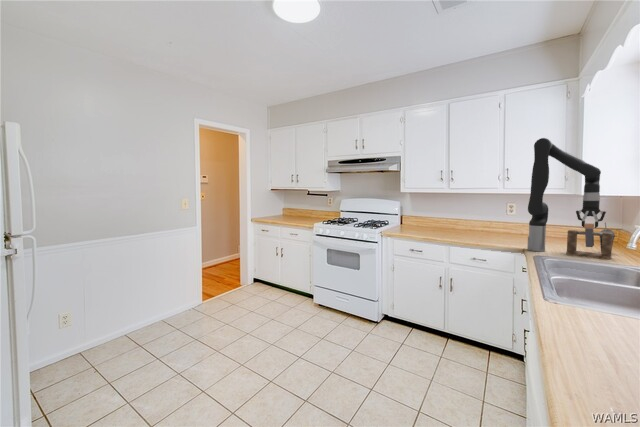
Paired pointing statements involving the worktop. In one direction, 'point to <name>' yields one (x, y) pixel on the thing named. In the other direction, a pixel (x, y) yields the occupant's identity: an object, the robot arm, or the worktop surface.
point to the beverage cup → (607, 232)
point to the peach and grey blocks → (589, 234)
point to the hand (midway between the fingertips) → (589, 227)
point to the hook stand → (604, 255)
